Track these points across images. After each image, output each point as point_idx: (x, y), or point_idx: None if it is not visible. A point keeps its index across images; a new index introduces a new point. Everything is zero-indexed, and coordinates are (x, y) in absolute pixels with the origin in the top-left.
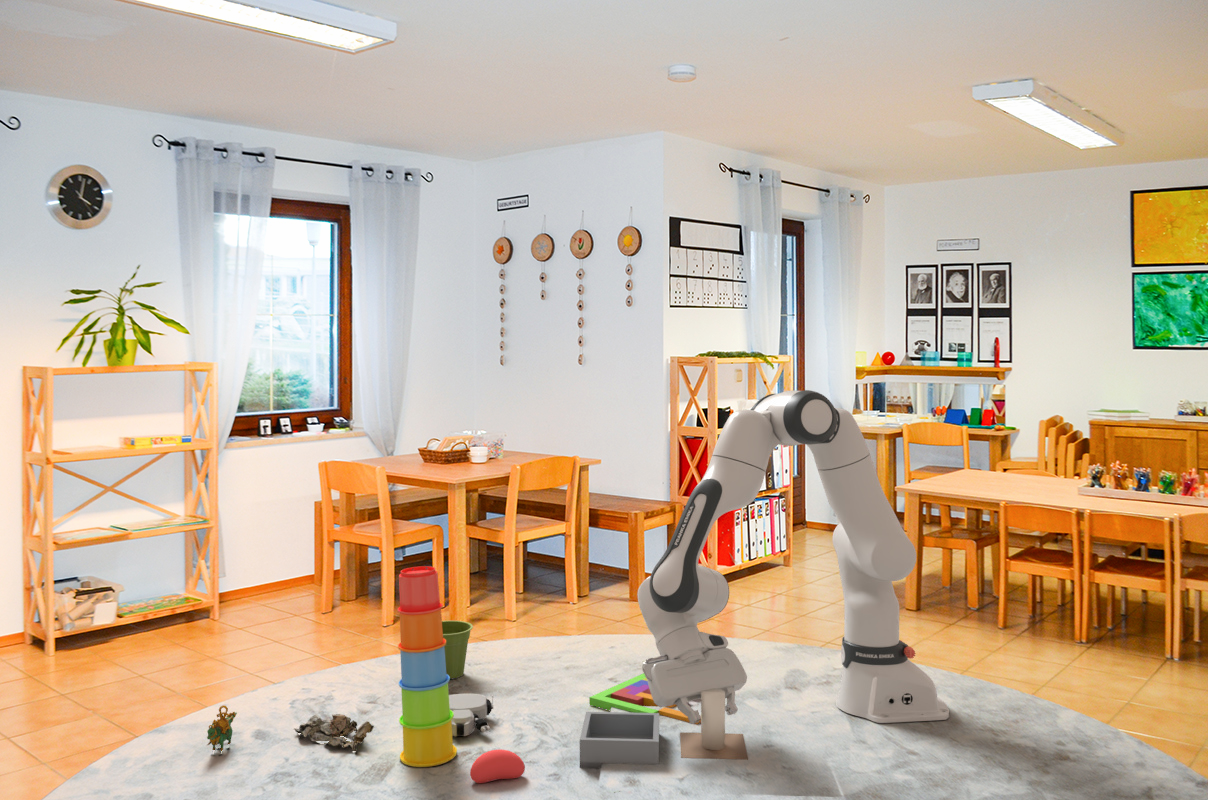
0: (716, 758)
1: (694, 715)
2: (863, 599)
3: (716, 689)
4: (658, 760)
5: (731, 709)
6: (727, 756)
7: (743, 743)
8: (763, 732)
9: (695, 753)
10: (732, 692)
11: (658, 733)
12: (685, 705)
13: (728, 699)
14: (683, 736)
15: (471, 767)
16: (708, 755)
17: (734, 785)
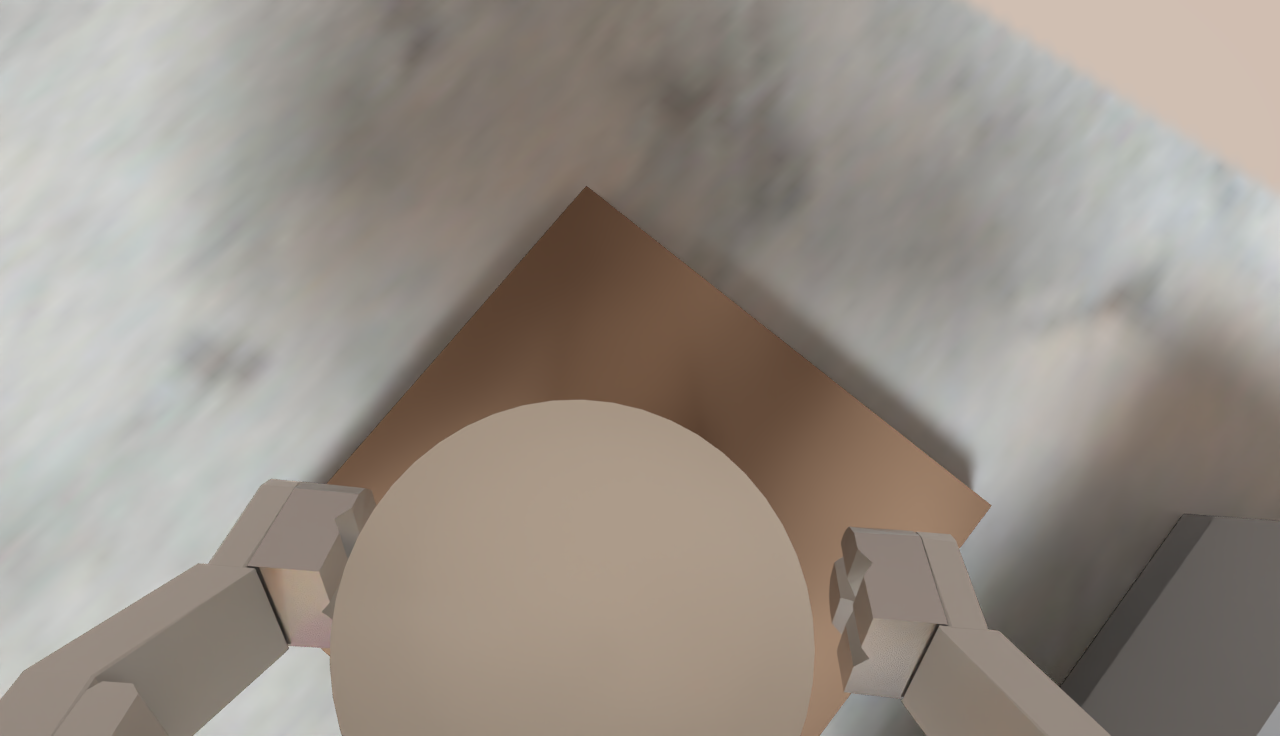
0: (768, 333)
1: (950, 568)
2: None
3: (405, 723)
4: (1237, 518)
5: (353, 496)
6: (676, 309)
7: (395, 422)
8: (35, 577)
9: (843, 500)
10: (76, 676)
11: (1278, 710)
12: (1093, 730)
13: (192, 697)
14: None
15: None
16: (782, 409)
17: (886, 30)
